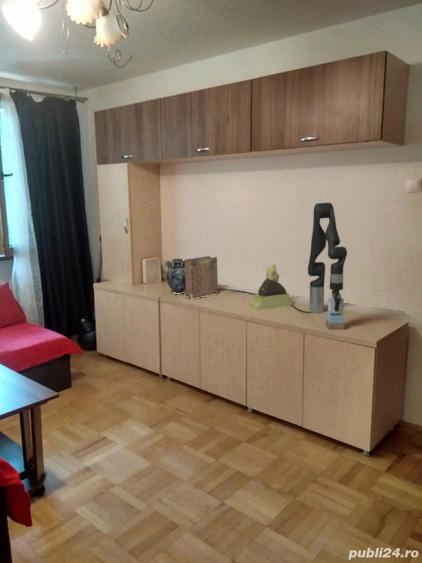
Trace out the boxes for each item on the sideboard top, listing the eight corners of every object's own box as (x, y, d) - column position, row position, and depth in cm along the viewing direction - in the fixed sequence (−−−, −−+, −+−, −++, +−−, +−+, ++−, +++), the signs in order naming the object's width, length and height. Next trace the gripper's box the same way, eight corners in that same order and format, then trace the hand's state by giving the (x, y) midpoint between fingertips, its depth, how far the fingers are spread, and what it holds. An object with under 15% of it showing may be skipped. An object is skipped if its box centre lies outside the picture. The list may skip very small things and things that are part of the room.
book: (210, 292, 372) (209, 256, 366) (218, 294, 365) (217, 257, 359) (185, 297, 356) (184, 259, 350) (193, 299, 349) (192, 260, 343)
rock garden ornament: (283, 301, 336) (283, 261, 330) (292, 305, 324) (293, 263, 319) (248, 306, 325) (248, 264, 320) (257, 310, 314) (257, 267, 308)
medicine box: (341, 311, 271) (341, 297, 269) (343, 313, 267) (343, 299, 265) (327, 312, 271) (328, 297, 269) (330, 314, 266) (330, 299, 265)
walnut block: (325, 325, 275) (325, 319, 274) (340, 325, 275) (341, 319, 274) (328, 330, 266) (329, 323, 265) (344, 330, 266) (344, 323, 265)
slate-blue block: (326, 319, 274) (327, 313, 273) (340, 319, 274) (340, 312, 273) (330, 323, 266) (330, 316, 265) (343, 323, 266) (344, 316, 265)
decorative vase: (184, 289, 385) (183, 256, 379) (195, 293, 370) (194, 259, 364) (161, 293, 374) (160, 259, 368) (172, 297, 358) (170, 262, 353)
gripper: (327, 278, 272) (326, 306, 276) (332, 283, 258) (331, 313, 262) (340, 278, 272) (339, 306, 275) (345, 283, 258) (344, 312, 261)
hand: (335, 309), depth 268 cm, fingers closed on medicine box, 4 cm apart
